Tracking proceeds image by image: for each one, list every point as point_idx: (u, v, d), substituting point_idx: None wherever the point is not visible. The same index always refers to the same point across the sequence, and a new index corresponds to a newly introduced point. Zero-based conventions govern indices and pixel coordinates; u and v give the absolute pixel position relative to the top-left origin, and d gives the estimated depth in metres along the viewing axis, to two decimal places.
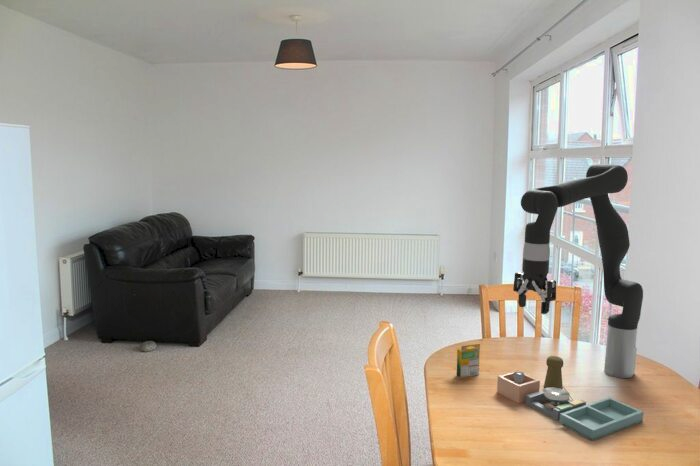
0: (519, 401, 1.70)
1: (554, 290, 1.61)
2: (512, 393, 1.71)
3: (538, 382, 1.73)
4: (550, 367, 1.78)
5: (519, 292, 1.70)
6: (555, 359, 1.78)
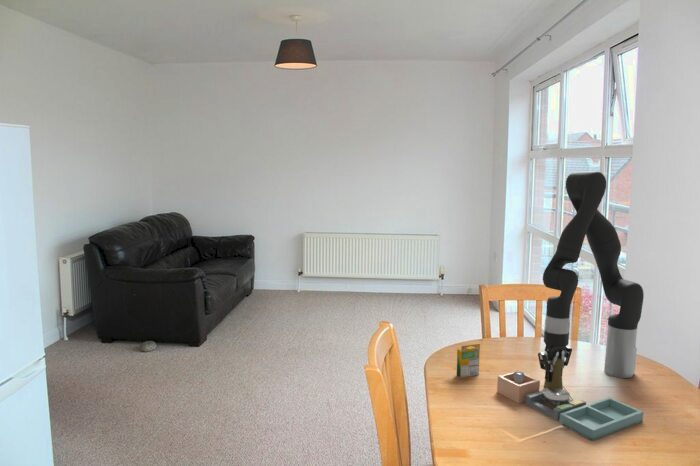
0: (519, 401, 1.70)
1: None
2: (512, 393, 1.71)
3: (538, 382, 1.73)
4: None
5: (552, 369, 1.77)
6: None
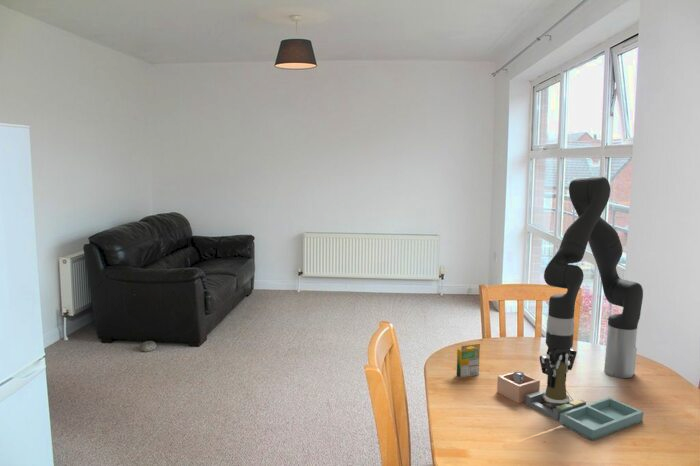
0: (519, 401, 1.70)
1: None
2: (512, 393, 1.71)
3: (538, 382, 1.73)
4: None
5: (554, 374, 1.63)
6: None
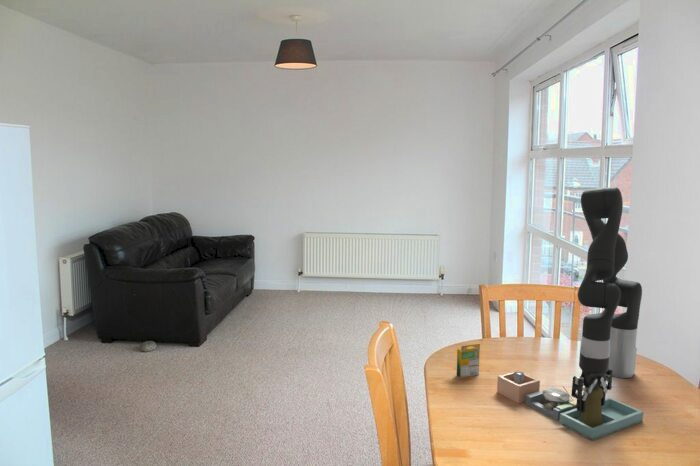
0: (519, 401, 1.70)
1: None
2: (512, 393, 1.71)
3: (538, 382, 1.73)
4: (588, 398, 1.55)
5: (585, 397, 1.52)
6: (594, 390, 1.54)
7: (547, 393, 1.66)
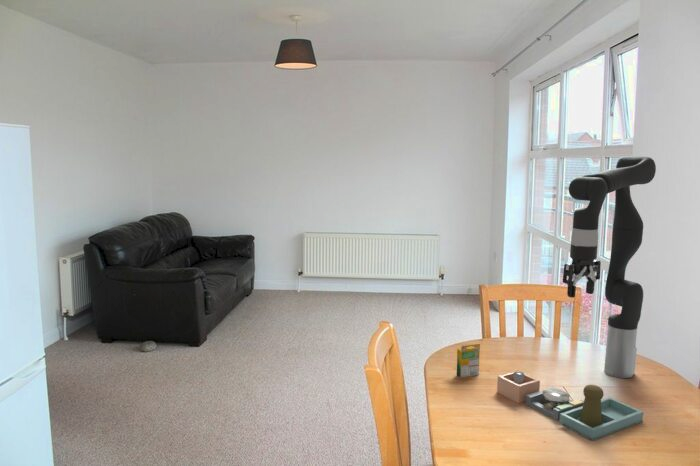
0: (519, 401, 1.70)
1: None
2: (512, 393, 1.71)
3: (538, 382, 1.73)
4: (588, 398, 1.55)
5: (575, 283, 1.66)
6: (594, 390, 1.54)
7: (547, 393, 1.66)
